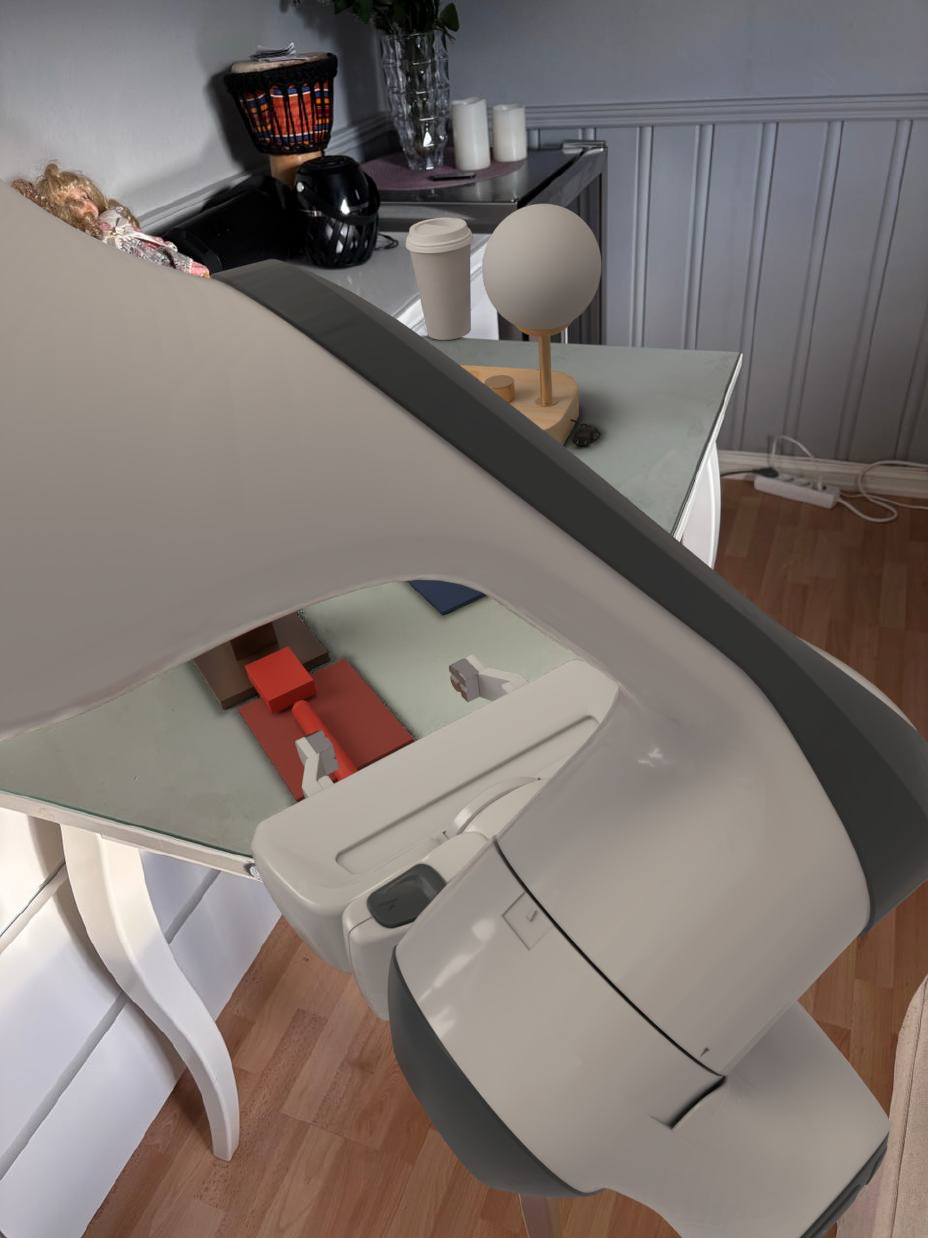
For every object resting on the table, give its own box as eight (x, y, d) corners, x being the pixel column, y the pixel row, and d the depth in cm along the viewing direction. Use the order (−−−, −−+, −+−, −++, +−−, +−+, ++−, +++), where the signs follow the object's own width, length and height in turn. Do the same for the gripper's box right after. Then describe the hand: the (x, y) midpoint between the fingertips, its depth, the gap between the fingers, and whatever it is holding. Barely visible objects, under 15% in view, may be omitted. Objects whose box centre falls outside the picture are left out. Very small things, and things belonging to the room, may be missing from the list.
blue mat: (443, 615, 83) (442, 612, 83) (336, 515, 98) (336, 512, 98) (549, 565, 87) (548, 562, 87) (431, 477, 102) (431, 474, 102)
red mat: (298, 803, 67) (296, 799, 67) (238, 711, 75) (237, 708, 75) (414, 742, 71) (413, 738, 71) (345, 661, 79) (344, 657, 79)
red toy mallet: (406, 815, 65) (403, 801, 64) (357, 842, 64) (353, 828, 63) (292, 659, 78) (288, 646, 77) (249, 679, 77) (244, 665, 76)
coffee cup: (493, 331, 133) (485, 224, 124) (437, 349, 130) (424, 241, 121) (460, 313, 140) (450, 211, 131) (406, 331, 137) (391, 227, 127)
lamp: (316, 446, 111) (269, 230, 95) (374, 385, 123) (340, 184, 107) (583, 471, 100) (580, 233, 84) (616, 401, 112) (619, 181, 97)
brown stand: (223, 710, 76) (119, 427, 59) (177, 637, 84) (75, 372, 68) (330, 660, 79) (260, 381, 63) (276, 595, 88) (202, 333, 71)
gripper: (716, 725, 42) (539, 585, 51) (319, 963, 34) (196, 747, 44) (706, 812, 46) (543, 667, 55) (347, 1043, 38) (229, 829, 48)
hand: (387, 704), depth 50 cm, fingers open, 8 cm apart
